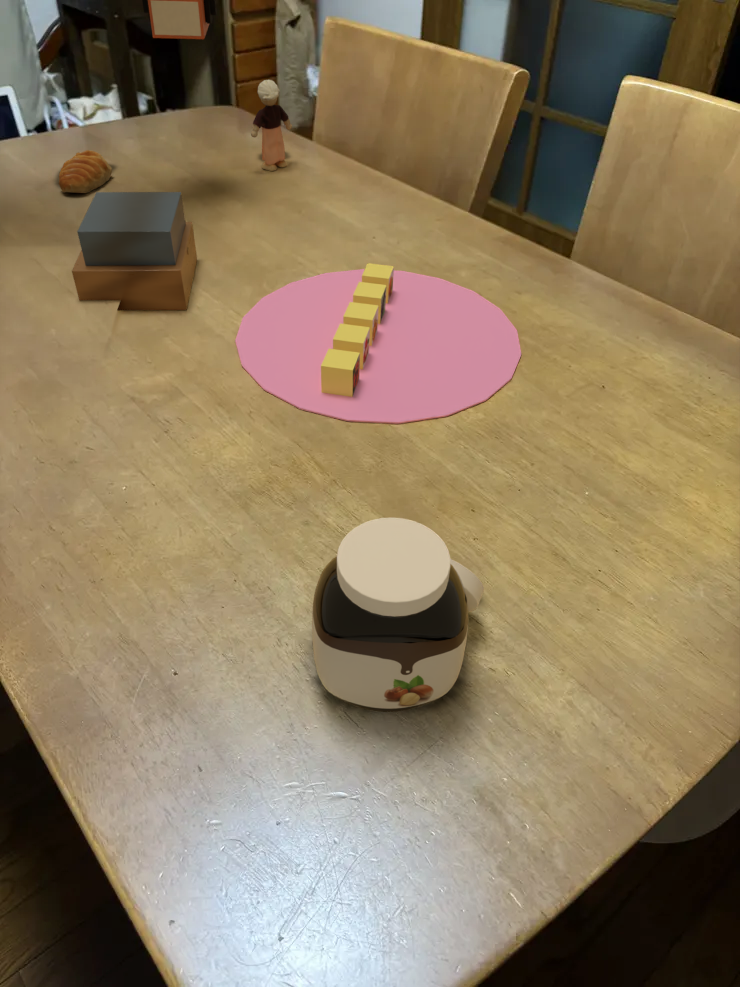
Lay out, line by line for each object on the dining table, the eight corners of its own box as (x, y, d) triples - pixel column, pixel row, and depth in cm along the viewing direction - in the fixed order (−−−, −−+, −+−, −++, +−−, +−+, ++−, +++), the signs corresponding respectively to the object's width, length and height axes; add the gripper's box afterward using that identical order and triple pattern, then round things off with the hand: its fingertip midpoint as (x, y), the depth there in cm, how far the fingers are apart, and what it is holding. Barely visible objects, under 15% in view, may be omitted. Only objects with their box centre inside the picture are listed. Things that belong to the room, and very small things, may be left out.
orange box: (152, 38, 96) (147, -4, 93) (162, 20, 103) (157, -19, 100) (204, 39, 97) (200, -2, 94) (210, 22, 104) (206, -17, 101)
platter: (191, 398, 75) (186, 369, 73) (282, 257, 98) (280, 232, 96) (511, 445, 71) (517, 417, 69) (528, 287, 94) (533, 261, 92)
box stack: (80, 311, 87) (61, 236, 81) (101, 259, 96) (85, 189, 90) (187, 310, 88) (176, 235, 82) (198, 259, 97) (188, 189, 91)
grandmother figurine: (278, 157, 125) (274, 72, 116) (296, 163, 123) (293, 77, 114) (247, 170, 120) (240, 83, 111) (265, 176, 118) (260, 88, 110)
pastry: (94, 198, 110) (87, 172, 108) (49, 196, 111) (42, 169, 108) (115, 175, 117) (110, 149, 115) (73, 172, 118) (67, 147, 115)
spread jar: (311, 717, 50) (305, 607, 42) (319, 585, 58) (315, 472, 50) (491, 718, 50) (519, 610, 42) (473, 587, 58) (494, 475, 50)
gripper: (78, -161, 84) (109, 25, 96) (235, -153, 85) (246, 29, 97) (91, -164, 89) (119, 12, 101) (239, -156, 91) (248, 16, 103)
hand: (181, 19), depth 99 cm, fingers closed on orange box, 6 cm apart
